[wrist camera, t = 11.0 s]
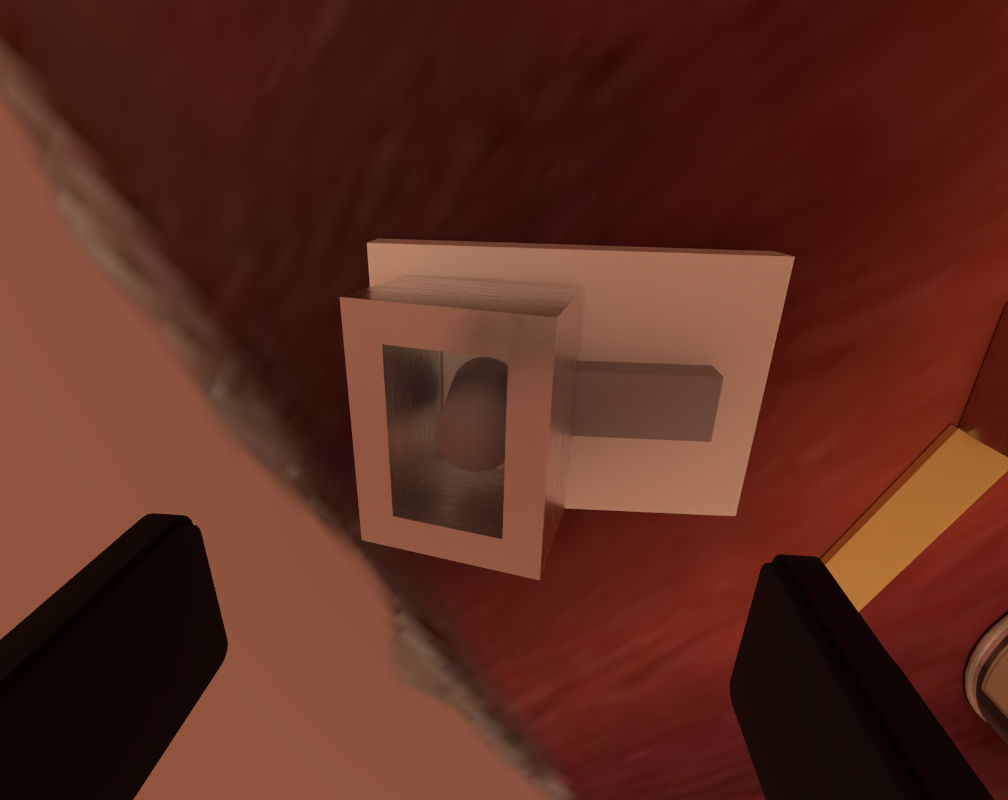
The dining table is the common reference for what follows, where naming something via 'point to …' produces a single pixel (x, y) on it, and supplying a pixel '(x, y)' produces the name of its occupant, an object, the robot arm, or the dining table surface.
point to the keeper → (623, 365)
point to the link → (418, 403)
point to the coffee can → (990, 678)
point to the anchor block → (991, 395)
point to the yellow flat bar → (913, 513)
